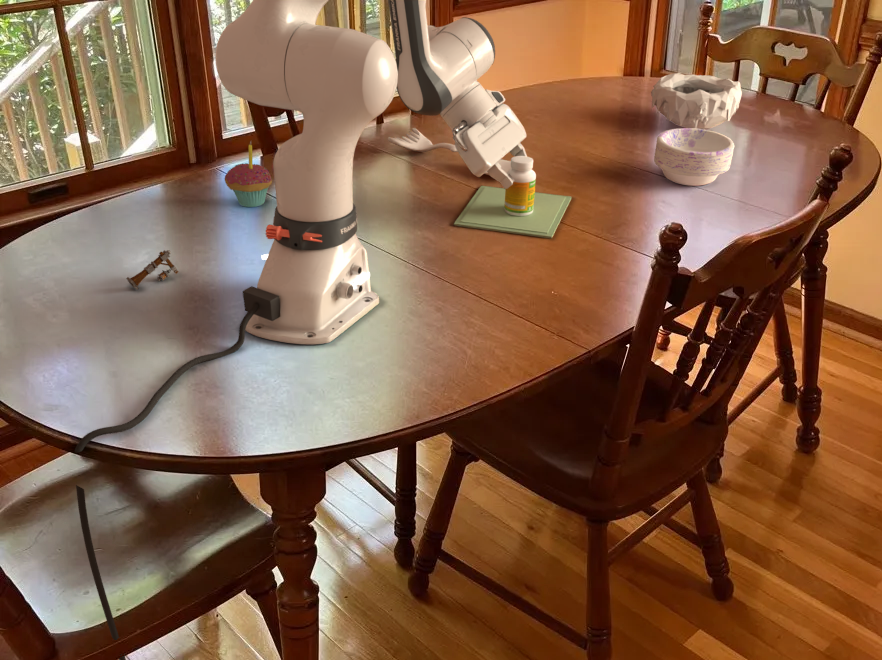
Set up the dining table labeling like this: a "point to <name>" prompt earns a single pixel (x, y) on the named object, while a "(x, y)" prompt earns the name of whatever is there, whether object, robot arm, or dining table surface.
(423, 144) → the white spork utensil
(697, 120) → the bowl
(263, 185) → the cupcake
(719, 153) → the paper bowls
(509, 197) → the supplement bottle
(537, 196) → the placemat
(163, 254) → the wooden post with brackets
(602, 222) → the dining table surface
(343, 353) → the dining table surface
